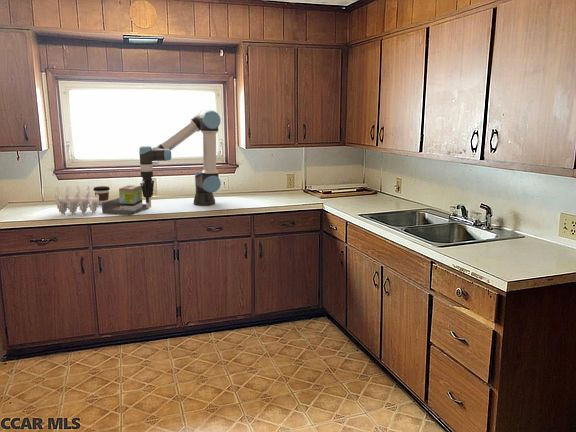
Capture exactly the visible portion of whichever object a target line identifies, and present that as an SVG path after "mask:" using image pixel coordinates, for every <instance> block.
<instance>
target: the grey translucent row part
mask: <svg viewBox="0 0 576 432" xmlns="http://www.w3.org/2000/svg"><path fill="white" fill-rule="evenodd" d="M54 195H55V196H54V197H55V204H56V205H57V207H56V209H58V212H59V213H60V215H65V214H66V212H67V211H68V210H69V213H71V215H72V216H73V215H74V214H76V212H77V210H78V208H79V211H81V214H85V213H86V212H87V211H88V208H89V210H90V211H91V214H95V213H96V211H97V210H98V207H99V205H98V204H99V195H98V194H96V196H94V197H90V186H89V185H87V187H86V194H85V197H82V196H80V187H79V185H77V187H76V194H75V197H74V196H70V188H69V186H66V189H65V196H60V189H59V186H56V188H55V194H54Z"/></svg>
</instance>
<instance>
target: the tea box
mask: <svg viewBox="0 0 576 432" xmlns="http://www.w3.org/2000/svg"><path fill="white" fill-rule="evenodd" d="M118 194H119V197H118V198H120V210H131V211H135V210H137V209H139V208H141V207H143V204H144V203H143V192H142V188H141V185H135V184H134V185H131V184H130V185H126V186H125V185H124V186H123V187H120V188H119V189H118Z"/></svg>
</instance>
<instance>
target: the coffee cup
mask: <svg viewBox="0 0 576 432" xmlns="http://www.w3.org/2000/svg"><path fill="white" fill-rule="evenodd" d="M92 191H94V195H95V196H94V197H96V194H98V195H99V204H98V206H102V202H106V201H109V195H110V186H106V185H101V186H94V187H93V190H92Z"/></svg>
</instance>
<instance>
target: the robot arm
mask: <svg viewBox="0 0 576 432" xmlns="http://www.w3.org/2000/svg"><path fill="white" fill-rule="evenodd" d="M220 124H221V117H220V115H219V113H218V112H217V111H214V110H210V109H207V110H206V109H205V110H201V111H200V112H198V113H196V115H194V116H193V117H192V118H190V119H189V122H188V123H186V124H185V125H184V126H182V127H181V128H180V129H178V130H177V131H176V132H173V134H172V135H170V136H169V137H168V138H166V139H164V141H162V142H161V143H159V144H158V145H156V146H153V147H152V146H150V145H143V146H142V145H140V147H139V150H138V151H139V167H140V169H139V170H140V177H141V178H142V182H140V183H139V186H141V188H142V198H145V204H146V207H148V208H149V209H150V208H152V198H153V195H154V184H155V180H153V179H152V178H153V177H154V172H153V171H154V168H153V167H154V166H153V162H167V161H171V160H172V150H174V149H175V148H176V147H177V146H179V145H180V144H181V143H183V142H184V141H185V140H187V139H189V137H191V136H192V135H193V134H195V133H196V132H198V133H199V132H201V133H202V153H203V154H202V159H203V160H202V161H203V162H202V163H203V167H202V169H203V170H201V171H196V172H194V181H195V194H194V199H193V205H195V206H212V205H215V204H216V198H215V197H214V194H213V193H216V192H218V190H220V188H221V185H222V182H221V179H220V178H219V175H220V174H219V173H220V172H219V171H218V170H217V134H218V133H219V126H220Z"/></svg>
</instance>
